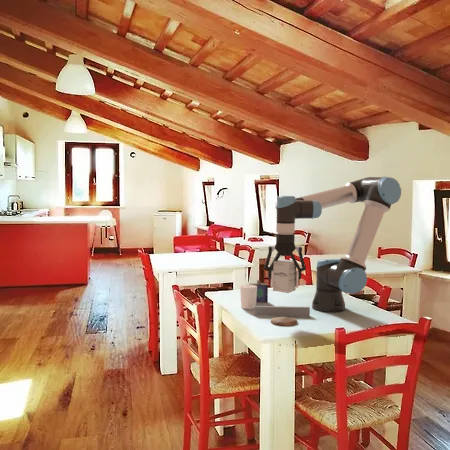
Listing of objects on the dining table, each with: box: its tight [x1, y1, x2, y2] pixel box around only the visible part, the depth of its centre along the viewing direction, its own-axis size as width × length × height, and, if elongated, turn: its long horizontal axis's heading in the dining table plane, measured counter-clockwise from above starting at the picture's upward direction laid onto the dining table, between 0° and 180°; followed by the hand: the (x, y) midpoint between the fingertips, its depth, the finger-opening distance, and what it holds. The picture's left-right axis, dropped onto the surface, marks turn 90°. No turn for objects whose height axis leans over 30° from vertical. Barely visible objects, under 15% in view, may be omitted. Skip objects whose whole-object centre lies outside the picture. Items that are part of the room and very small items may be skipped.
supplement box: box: [272, 258, 297, 294], centre depth 206 cm, size 7×7×13 cm
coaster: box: [270, 316, 298, 327], centre depth 208 cm, size 11×11×1 cm
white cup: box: [239, 284, 257, 310], centre depth 232 cm, size 8×8×10 cm
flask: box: [248, 279, 269, 304], centre depth 243 cm, size 9×3×11 cm, turn 79°
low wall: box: [253, 305, 311, 318], centre depth 218 cm, size 24×2×4 cm, turn 88°
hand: (284, 286), depth 207 cm, fingers closed on supplement box, 10 cm apart
